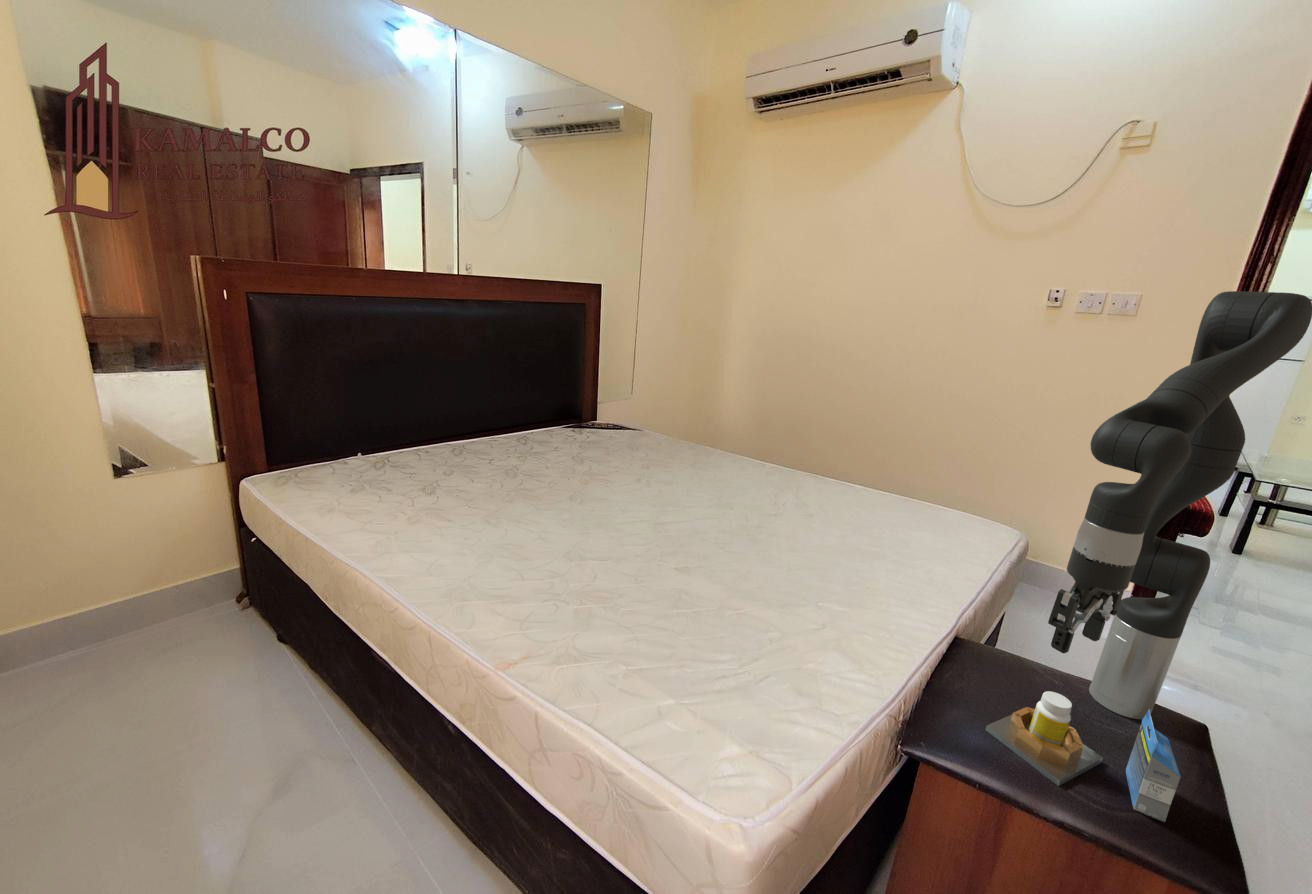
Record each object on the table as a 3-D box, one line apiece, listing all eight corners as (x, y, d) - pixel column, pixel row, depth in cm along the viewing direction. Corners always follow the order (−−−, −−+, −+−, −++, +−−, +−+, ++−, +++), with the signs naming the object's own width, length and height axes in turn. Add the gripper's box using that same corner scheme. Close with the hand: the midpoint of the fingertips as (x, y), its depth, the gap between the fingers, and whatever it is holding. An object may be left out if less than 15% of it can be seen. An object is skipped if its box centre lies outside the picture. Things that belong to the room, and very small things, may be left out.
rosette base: (1027, 711, 100) (1032, 695, 99) (1101, 762, 90) (1107, 745, 89) (985, 729, 95) (990, 713, 94) (1058, 786, 85) (1064, 768, 84)
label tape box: (1165, 824, 80) (1194, 756, 76) (1129, 808, 82) (1156, 742, 78) (1154, 782, 87) (1180, 718, 83) (1121, 769, 89) (1145, 706, 85)
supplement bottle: (1066, 755, 89) (1081, 713, 87) (1035, 749, 90) (1048, 707, 88) (1052, 733, 94) (1066, 692, 92) (1022, 727, 95) (1035, 686, 92)
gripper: (1103, 535, 89) (1075, 622, 93) (1050, 547, 83) (1023, 639, 87) (1159, 556, 82) (1126, 648, 87) (1106, 571, 76) (1074, 669, 81)
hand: (1074, 643), depth 87 cm, fingers open, 8 cm apart
